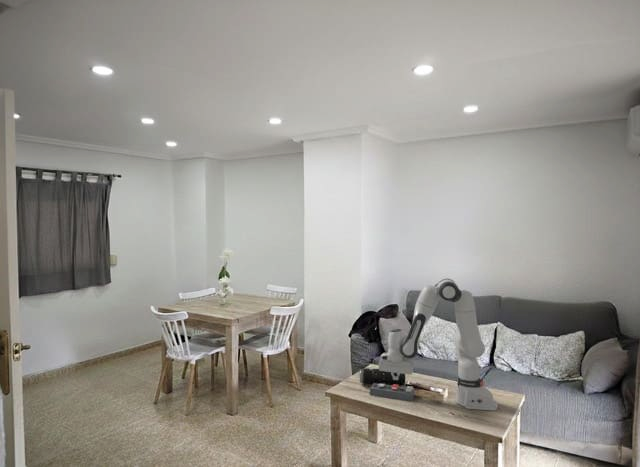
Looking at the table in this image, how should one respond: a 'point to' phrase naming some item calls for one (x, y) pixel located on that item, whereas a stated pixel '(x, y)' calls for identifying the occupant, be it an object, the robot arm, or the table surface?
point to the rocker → (409, 389)
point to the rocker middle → (395, 387)
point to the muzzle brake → (379, 377)
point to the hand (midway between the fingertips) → (395, 379)
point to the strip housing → (392, 392)
